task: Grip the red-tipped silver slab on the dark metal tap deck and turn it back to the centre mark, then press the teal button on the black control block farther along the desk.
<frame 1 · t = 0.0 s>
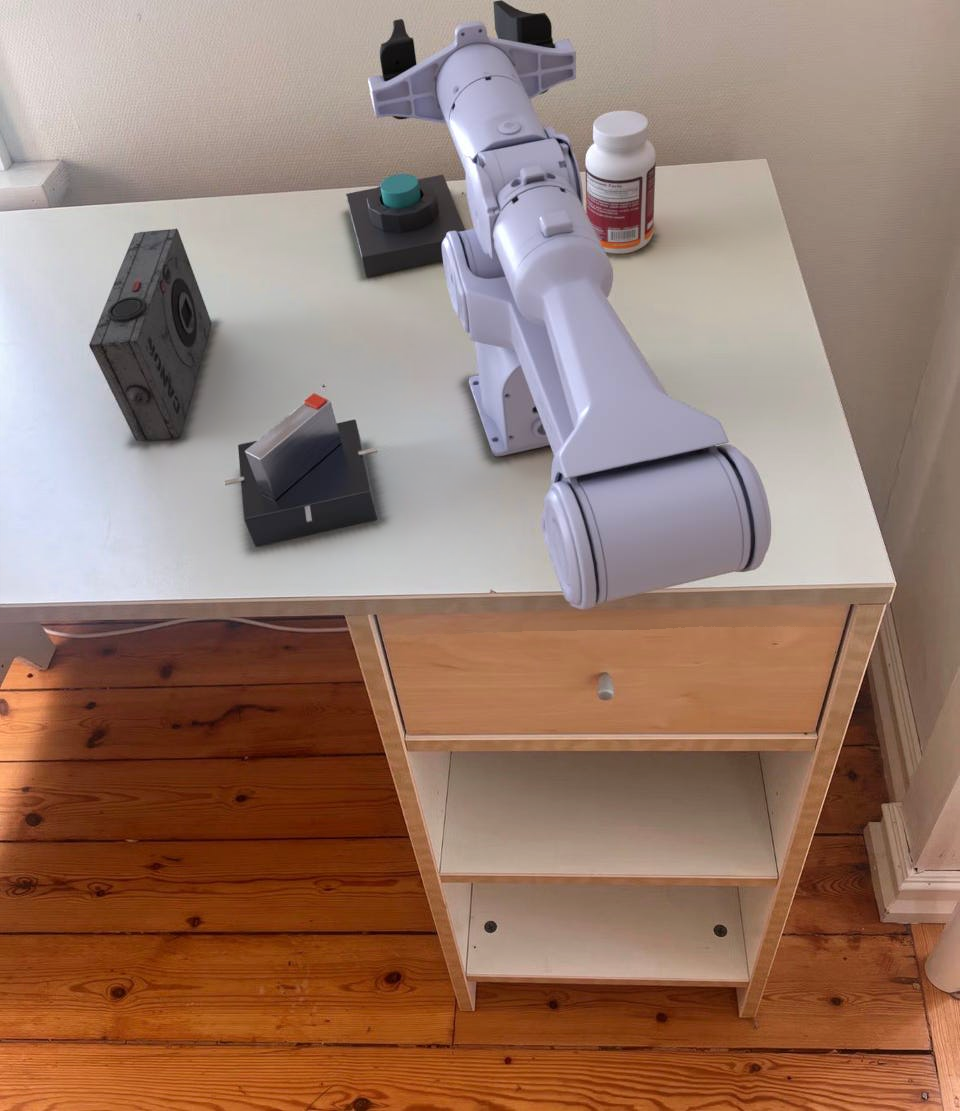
hand: (449, 23, 73), 22 cm above the table, tool horizontal, fingers open, 7 cm apart
tap deck: (311, 495, 73), on the table
pill bottle: (619, 239, 91), on the table
control block: (407, 234, 95), on the table
camera: (176, 385, 83), on the table
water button: (400, 191, 92), point 4 cm above the table, slide at 0.1 cm
red-tipped silver slab: (294, 445, 69), point 5 cm above the table, hinge at -50.0°
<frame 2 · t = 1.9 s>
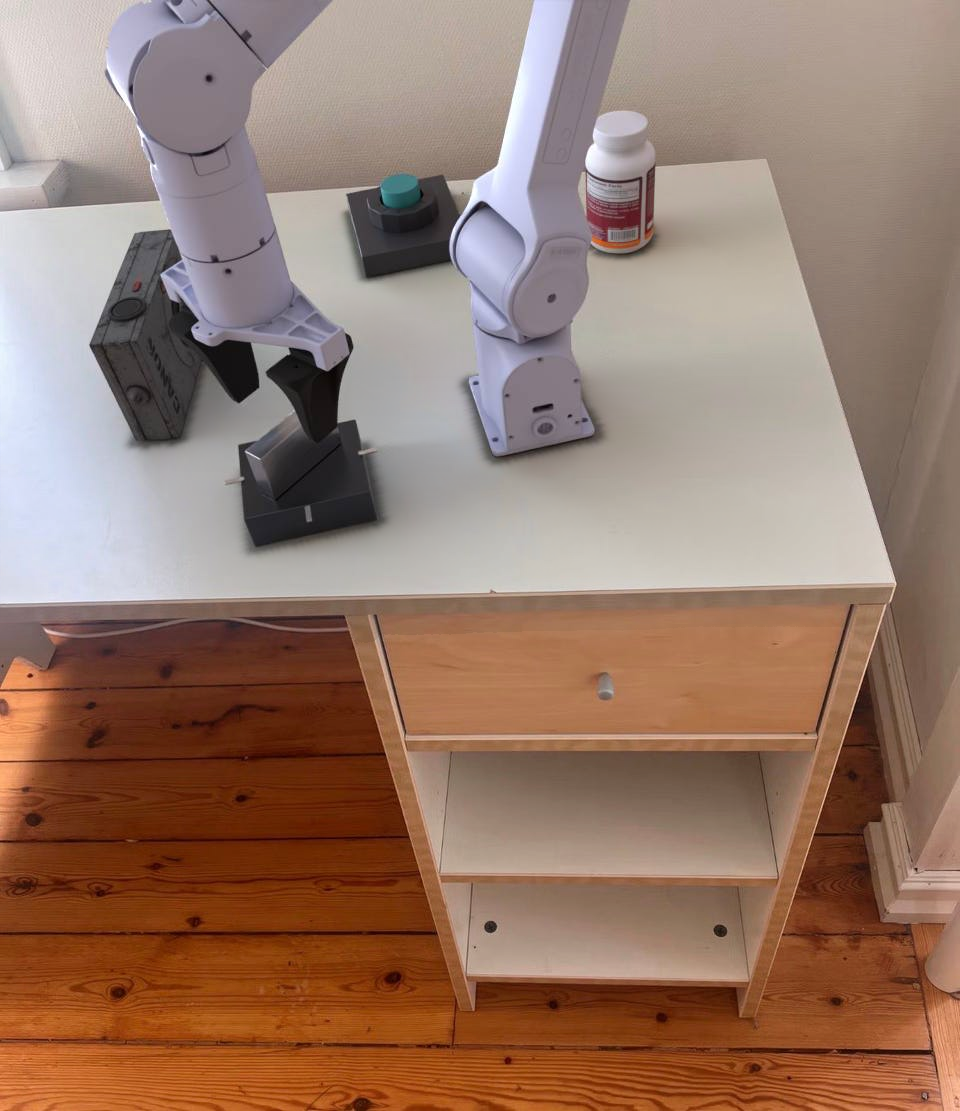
hand: (284, 413, 66), 8 cm above the table, tool pointing down, fingers open, 7 cm apart
nothing on the table moved.
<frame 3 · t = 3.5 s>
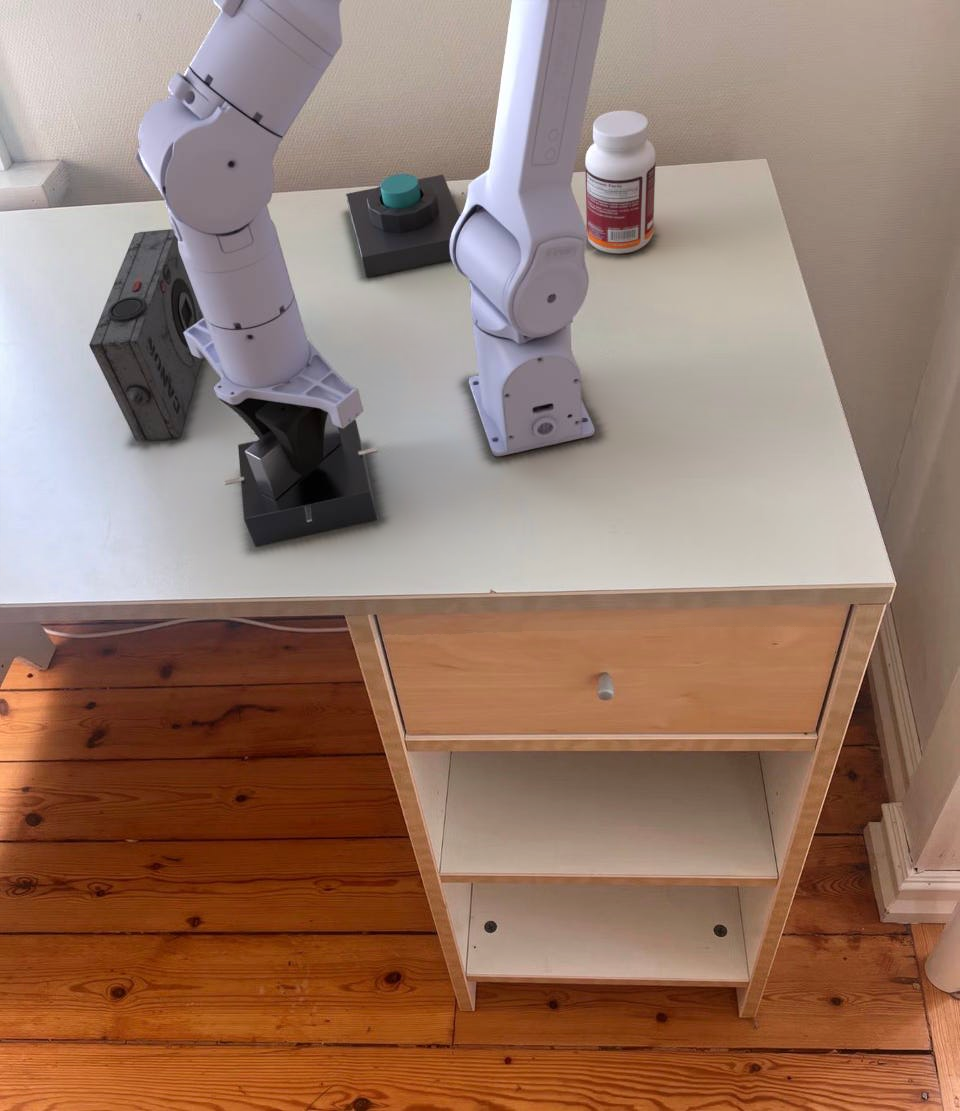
hand: (299, 460, 70), 4 cm above the table, tool pointing down, fingers closed on red-tipped silver slab, 2 cm apart
red-tipped silver slab: (294, 445, 69), point 5 cm above the table, hinge at -50.0°, touching gripper
everything else where it was.
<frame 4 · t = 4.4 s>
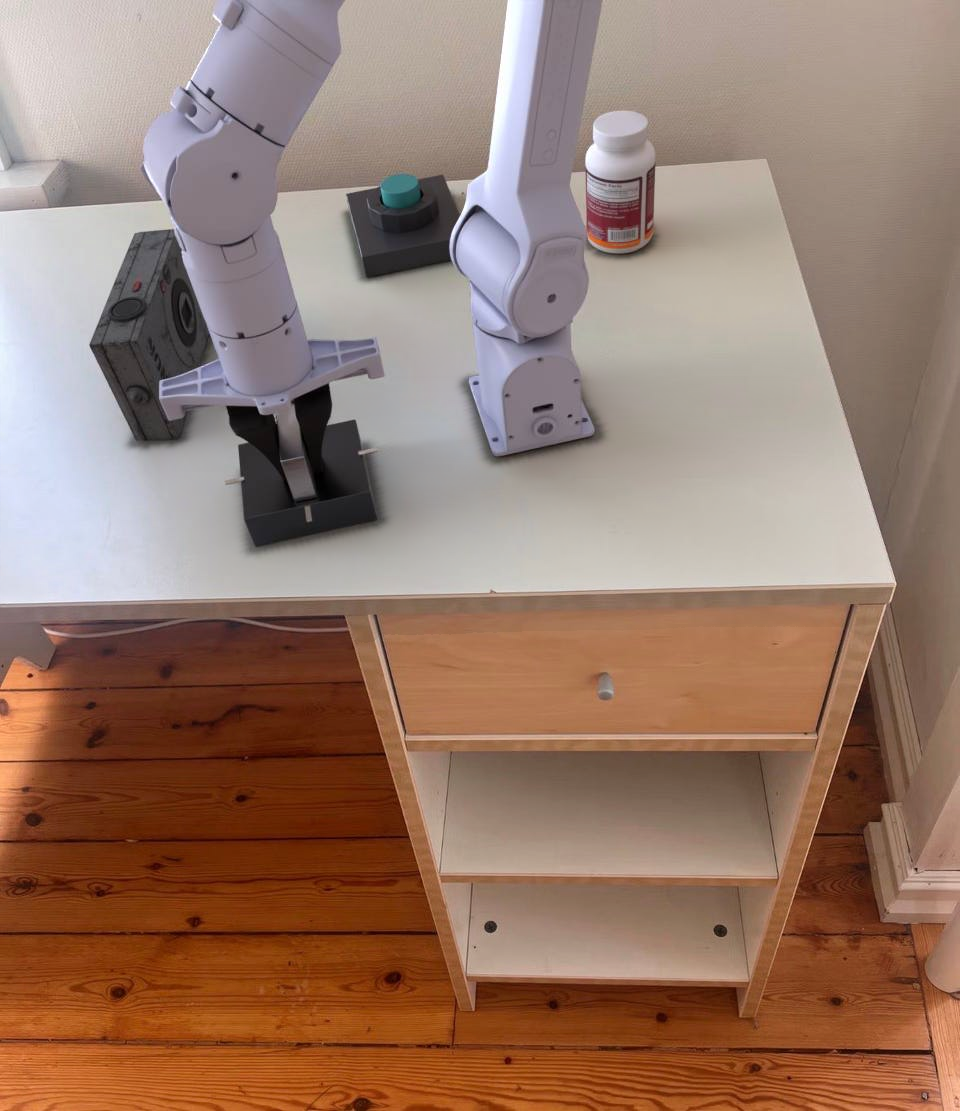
hand: (301, 467, 70), 3 cm above the table, tool pointing down, fingers closed, pressing on tap deck, red-tipped silver slab
red-tipped silver slab: (294, 445, 69), point 5 cm above the table, hinge at -0.7°, touching gripper
everything else where it was.
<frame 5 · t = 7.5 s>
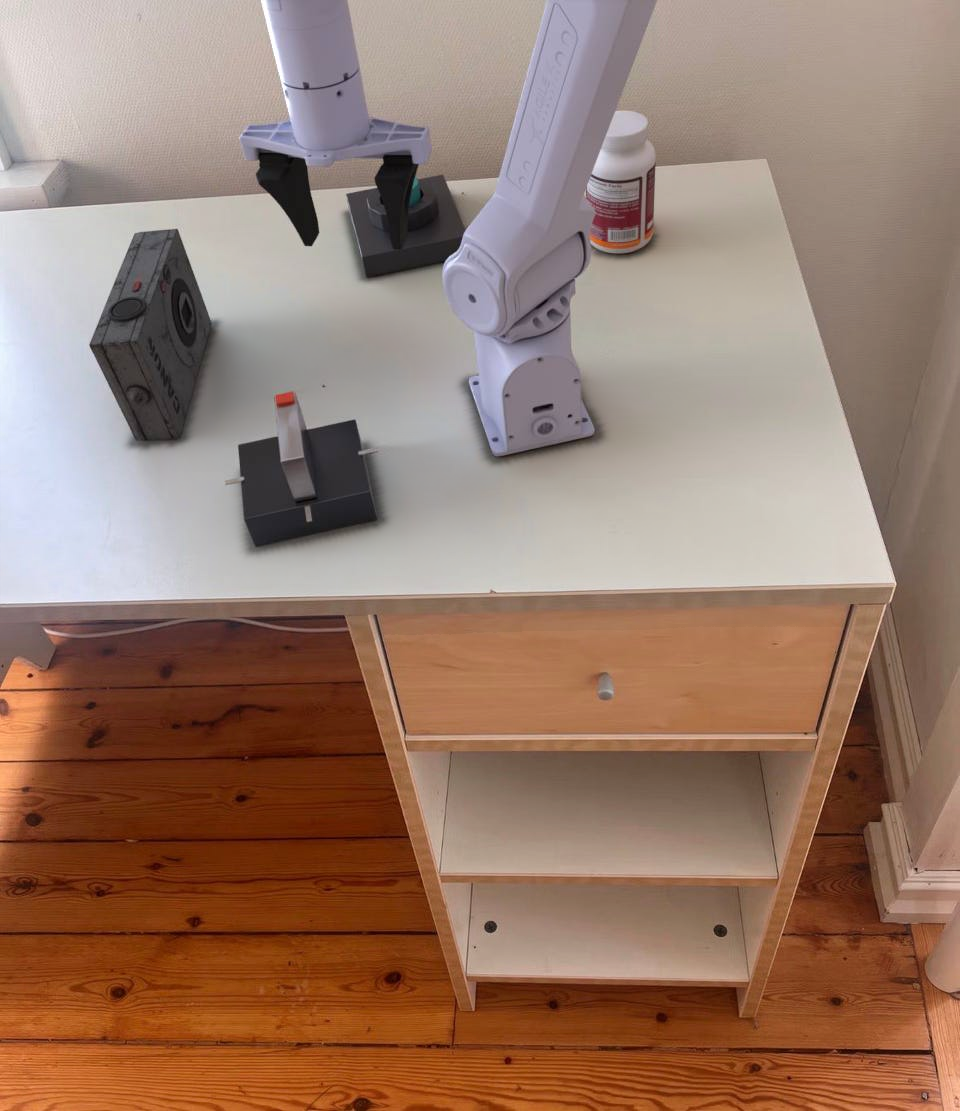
hand: (355, 241, 80), 8 cm above the table, tool pointing down, fingers open, 7 cm apart
red-tipped silver slab: (294, 445, 69), point 5 cm above the table, hinge at -0.7°
everything else where it was.
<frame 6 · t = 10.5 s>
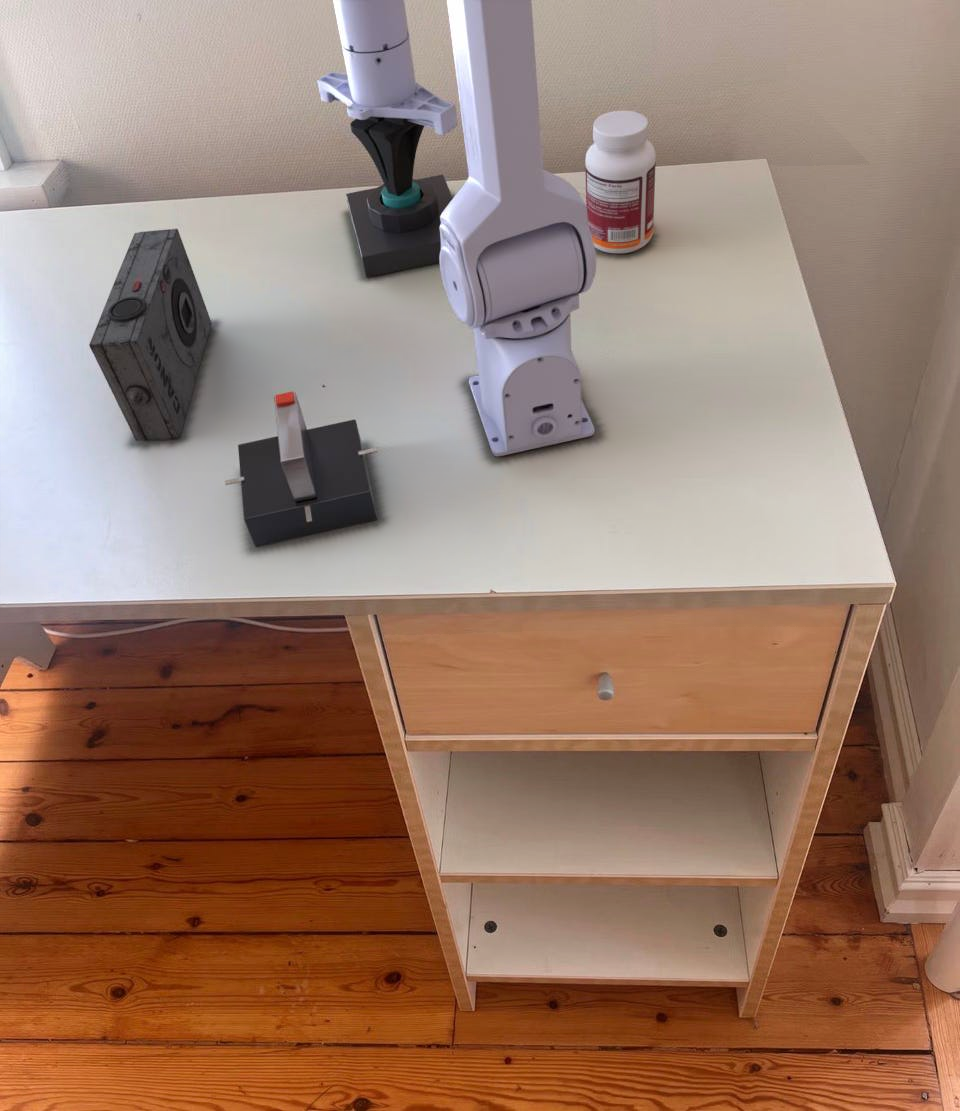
hand: (400, 189, 91), 5 cm above the table, tool pointing down, fingers closed, pressing on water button
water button: (401, 198, 92), point 4 cm above the table, slide at -0.6 cm, touching gripper
everything else where it was.
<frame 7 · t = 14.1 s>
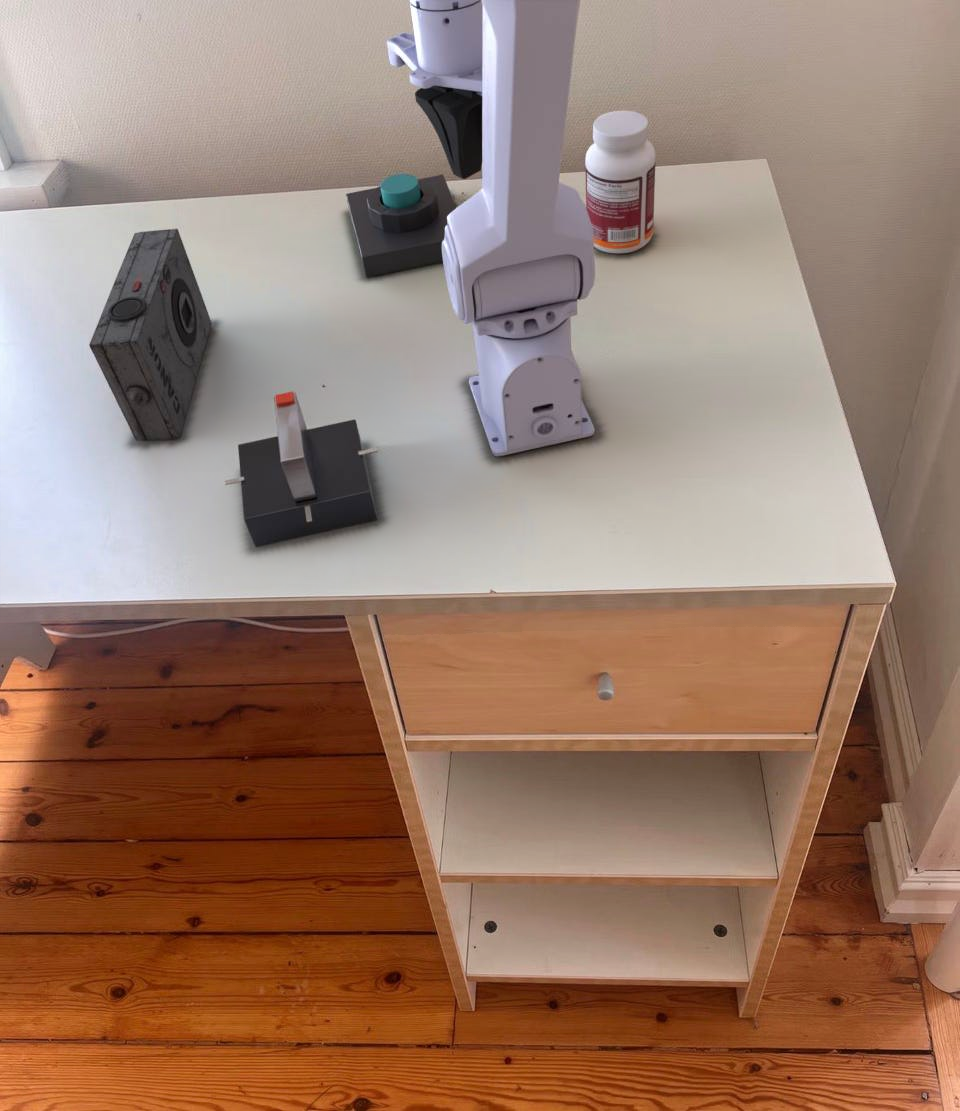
hand: (467, 172, 81), 10 cm above the table, tool pointing down, fingers closed
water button: (400, 191, 92), point 4 cm above the table, slide at 0.1 cm
everything else where it was.
at the end: red-tipped silver slab at -1° (first picture: -50°); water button pushed in 1.2 cm at the most during the clip, back to where it started at the end; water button slide at 0.1 cm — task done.
